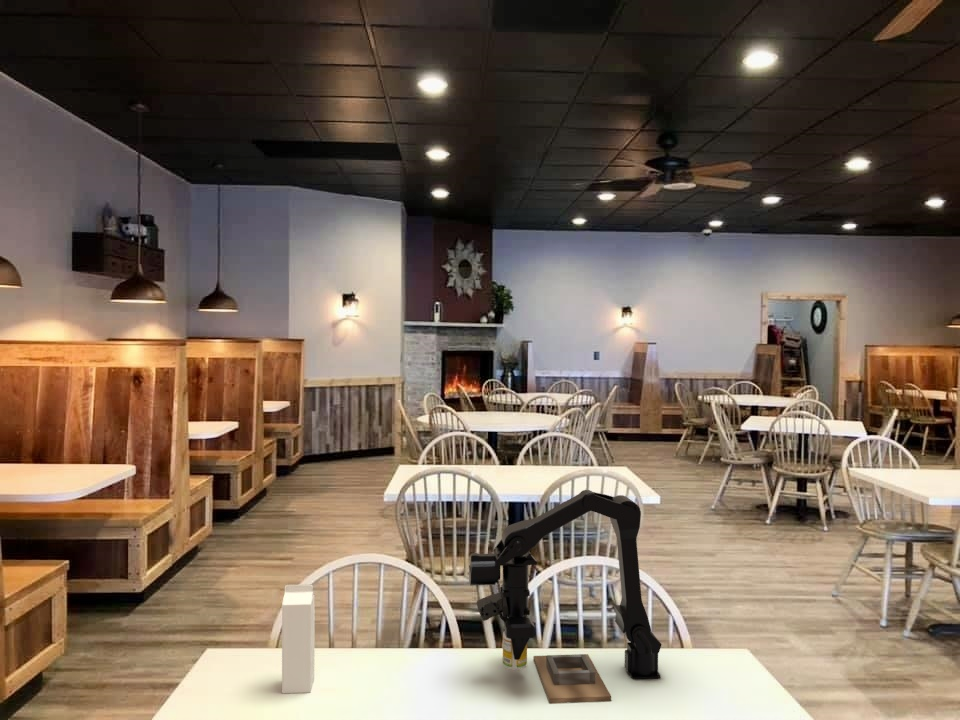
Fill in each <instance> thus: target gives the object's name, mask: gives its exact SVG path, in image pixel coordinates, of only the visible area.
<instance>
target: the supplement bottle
mask: <svg viewBox="0 0 960 720" xmlns="http://www.w3.org/2000/svg"><path fill="white" fill-rule="evenodd" d="M502 665H503V667H504V668H506V669H508V670H515V671H517V670H518V671H519V670H522V669H524V668H527V665H528V643H527V644H526V646H525V648H524V650H523V653H522V655H521V657H520V659H519V660H515V659H514V655H513V649H512V643H511V639H509V638H506V635H505V632H504V631H503V632H502Z"/></svg>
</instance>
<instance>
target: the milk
mask: <svg viewBox="0 0 960 720" xmlns="http://www.w3.org/2000/svg"><path fill="white" fill-rule="evenodd" d="M315 597H316V595H315V593H314V586H313V584H286V585H284V595H283V599H282V603H281V604H282V605H281V694H305V693H306V694H307V693H312V689H313V685H314V682H315V636H316V635H315V627H316V626H315V622H316V621H315V619H316V618H315V616H316V614H315V609H316V607H315Z"/></svg>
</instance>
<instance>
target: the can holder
mask: <svg viewBox="0 0 960 720" xmlns="http://www.w3.org/2000/svg"><path fill="white" fill-rule="evenodd" d="M532 660H533V663H534V665H535V668H536V672H537V674H538V676H539V680H540V682H541V684H542V688H543V690H544V692H545V695H546V698H547V700H548V701H547V702H548V704H565V703H567V702H570V703H588V702H589V703H591V702H592V703H594V702H597V703H598V702H612V695H611V693H610V691H609V690H608V688H607V686H606V684H605V682H604V680H603V679H602V677H601V675H600V673H599V671H598V669H597V668H596V666H595V664H594V663H593V661H592V658H591V656H590V655H589V654H588V653H579V654H549V655H548V654H547V655H533V659H532ZM567 704H568V703H567Z"/></svg>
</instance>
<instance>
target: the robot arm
mask: <svg viewBox="0 0 960 720" xmlns="http://www.w3.org/2000/svg"><path fill="white" fill-rule="evenodd" d="M590 512H593V513H597V514H600V515H602V516H605V517H607V518H609V519H610V523H611V526H612V528H613V532H614V533H615V537H616V546H617V556H618V566H619V578H620V580H619V581H620V591H621V601H620V604H614V605H613V608H614V609H613V610H614V612H615V619H614V622H615V624H616V625H617V627H618V628H619V630H620V631H621V632H622V633H623V635H624V636H625V637H626V639H627V641H628V642H627V643H626V649H625V650H624V668H625V670H626V672H627V673H628V674H629V676H630V677H631V679H633V680H641V679H643V680H644V679H646V680H648V679H660V678H661V677H662V676H661V674H660V672H659V653H660V650H661V647H662V643H661V641H659V639H658V638H657V637H656V635H655V634H654V633H653V632H652V628H651V627H652V626H651V624H650V621H649V618H648V617H649V616H648V613H647V611H646V608H645V606H644V603H643V599H642V598H643V597H642V587H641V586H642V585H641V576H640V565H639V554H638V552H639V551H638V542H637V539H638V535H639V532H640V528H641V516H642V512H641V507H639V504H637V503H636V502H634V501H632V499H630V498H629V497H627V496H625V495H623V494H622V495H621V494H619V495H616V496H612V495H608V494H604V493H601V492H594V491H592V490H590V489H584V490H581V491H580V492H579V493H578V494H576V495H574V496H572V497H570V498H569V499H567V500H566V501H564V502H562V503H560V504H558V505H556V506H554V507H553V508H550V509H549V510H547V511H545V512H544V513H541V514H540V515H538V516H537V517H534V518H531V519H525V520H521V521H517V522H515V523H512V524H509V525H507V526H506V527H504V528H503V531H502V533H501V539H500V540H499V541H498V543H497V544H496V545H495V547H494V548H493V550H492V553H478V552H471V553H470V555H469V558H470V559H469V564H468V582H469V586H495V585H496V583H497V584H498V583H499V581H501V575H502V584H501V585H500V586H499V592H496V593H492V594H490V595H488V596H485V597H481V598H480V599H478V600H476V602H475V603H476V607H477V609H478V612H479V615H480V618H481V621H483V622H484V621H489V620H490V619H491V618H494V617H497V616H499V618H500V620H502V622H504V626H503V627H504V629H503V632H505V635H506V638H509V639H511V643H512V649H513V655H514V659H515V660H519V659H520V657H521V655H522V653H523V650H524V648H525V646H526V644H527V645H528V642H529V641H530V639H531V638H535V637H536V633H537V632H536V631H537V630H536V626H535V624H534V623H535V622H534V621H533V620H532V619H531V618H530V617H527V616H530V614H531V613H530V612H531V611H530V607H529V597H531V591H530V589H529V566H537V565H538V561H537V559H536V558H535V557H534V556H533V555H532V554H531V552H530V551H531V550H532V549H534V548H536V547H537V545H538V544H539V543H540V541H541V540H542V539H544V538H545V537H546V536H547V535H549V534H552V533H553V532H555V531H557V530H558V529H560V528H562V527H564V526H566V525H568V524H569V523H571V522H572V521H575V520H576V519H579V518H581V517H582V516H583V515H585V514H587V513H590ZM501 567H502V574H501Z"/></svg>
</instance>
